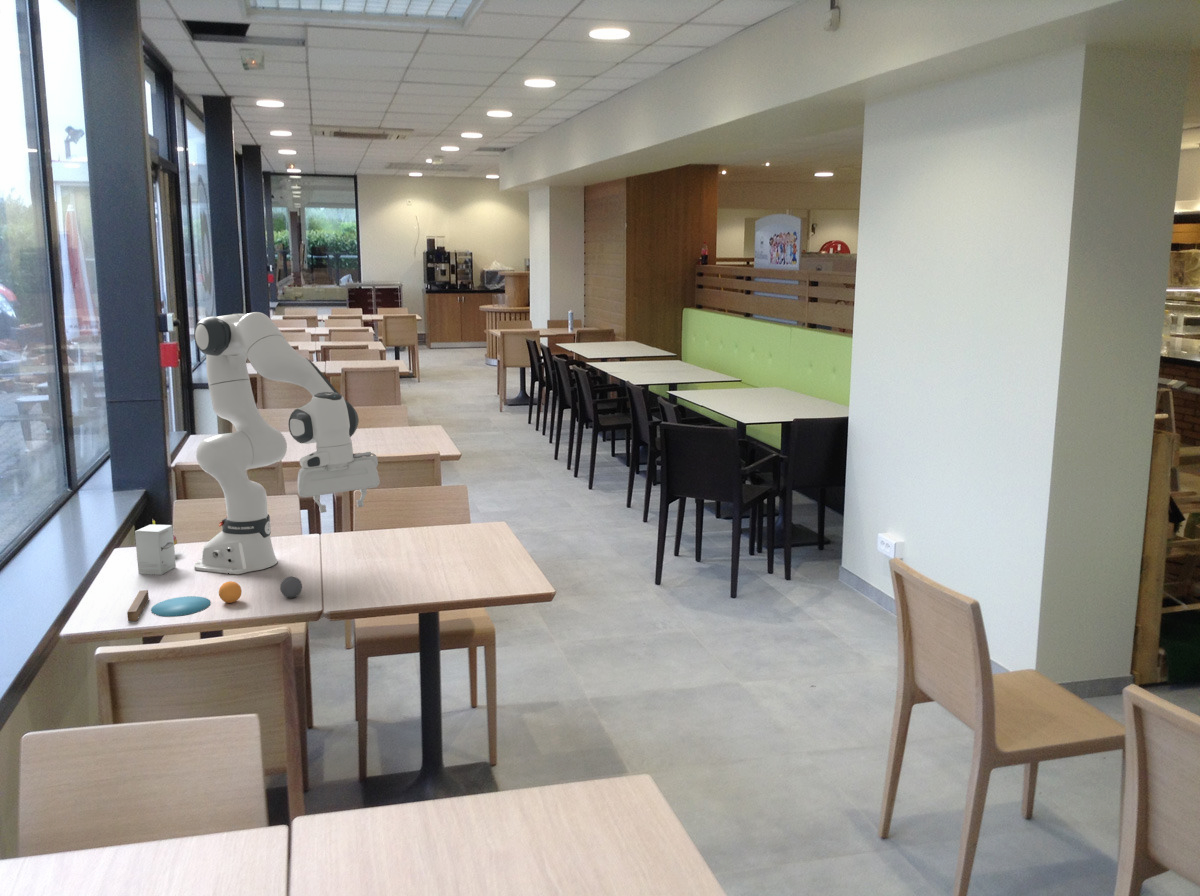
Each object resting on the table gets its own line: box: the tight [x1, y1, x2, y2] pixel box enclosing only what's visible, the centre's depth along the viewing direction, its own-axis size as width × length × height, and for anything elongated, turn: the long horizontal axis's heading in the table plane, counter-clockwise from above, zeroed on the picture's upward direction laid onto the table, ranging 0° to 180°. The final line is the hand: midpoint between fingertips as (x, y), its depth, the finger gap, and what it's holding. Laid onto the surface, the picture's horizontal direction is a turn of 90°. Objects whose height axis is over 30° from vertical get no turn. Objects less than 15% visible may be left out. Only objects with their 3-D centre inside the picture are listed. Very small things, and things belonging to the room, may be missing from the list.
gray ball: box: [279, 576, 303, 599], centre depth 259 cm, size 6×6×6 cm
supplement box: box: [134, 524, 177, 576], centre depth 280 cm, size 7×7×13 cm
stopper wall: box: [126, 589, 150, 622], centre depth 250 cm, size 2×16×2 cm, turn 14°
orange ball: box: [218, 580, 243, 604], centre depth 255 cm, size 6×6×6 cm
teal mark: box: [150, 595, 211, 617], centre depth 253 cm, size 14×14×1 cm
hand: (342, 509), depth 254 cm, fingers open, 8 cm apart
